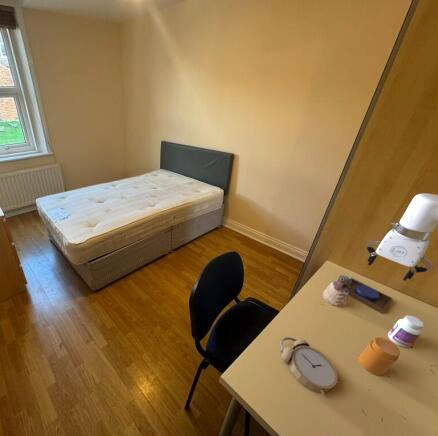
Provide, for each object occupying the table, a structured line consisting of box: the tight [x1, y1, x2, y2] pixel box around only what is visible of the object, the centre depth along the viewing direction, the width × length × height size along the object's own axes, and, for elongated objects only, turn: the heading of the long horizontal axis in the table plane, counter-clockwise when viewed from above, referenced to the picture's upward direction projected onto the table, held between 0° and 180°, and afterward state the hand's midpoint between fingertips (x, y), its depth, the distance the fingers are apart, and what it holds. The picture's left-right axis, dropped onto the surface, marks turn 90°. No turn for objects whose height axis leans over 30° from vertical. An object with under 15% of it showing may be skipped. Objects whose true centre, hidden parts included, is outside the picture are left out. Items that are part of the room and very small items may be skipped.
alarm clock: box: [280, 336, 341, 397], centre depth 68 cm, size 11×5×15 cm
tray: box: [348, 277, 394, 314], centre depth 90 cm, size 13×9×2 cm
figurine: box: [322, 275, 352, 308], centre depth 87 cm, size 7×7×12 cm
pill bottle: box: [387, 315, 425, 348], centre depth 73 cm, size 5×5×10 cm
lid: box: [355, 284, 379, 302], centre depth 90 cm, size 7×7×2 cm
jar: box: [357, 337, 401, 377], centre depth 66 cm, size 6×6×10 cm
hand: (386, 271), depth 83 cm, fingers open, 9 cm apart
